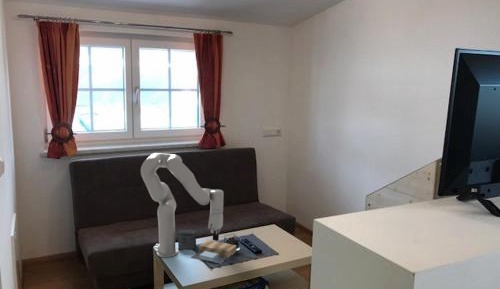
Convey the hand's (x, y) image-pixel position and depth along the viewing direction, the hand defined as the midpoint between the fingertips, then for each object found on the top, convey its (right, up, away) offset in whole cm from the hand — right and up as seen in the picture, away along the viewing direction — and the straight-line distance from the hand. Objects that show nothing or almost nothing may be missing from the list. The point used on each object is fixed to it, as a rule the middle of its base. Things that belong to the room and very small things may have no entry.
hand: (215, 240), depth 234 cm
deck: (+1, -8, +2) cm, 8 cm away
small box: (-18, -7, +7) cm, 21 cm away
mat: (-3, -9, -7) cm, 11 cm away
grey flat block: (-3, -6, -9) cm, 11 cm away
